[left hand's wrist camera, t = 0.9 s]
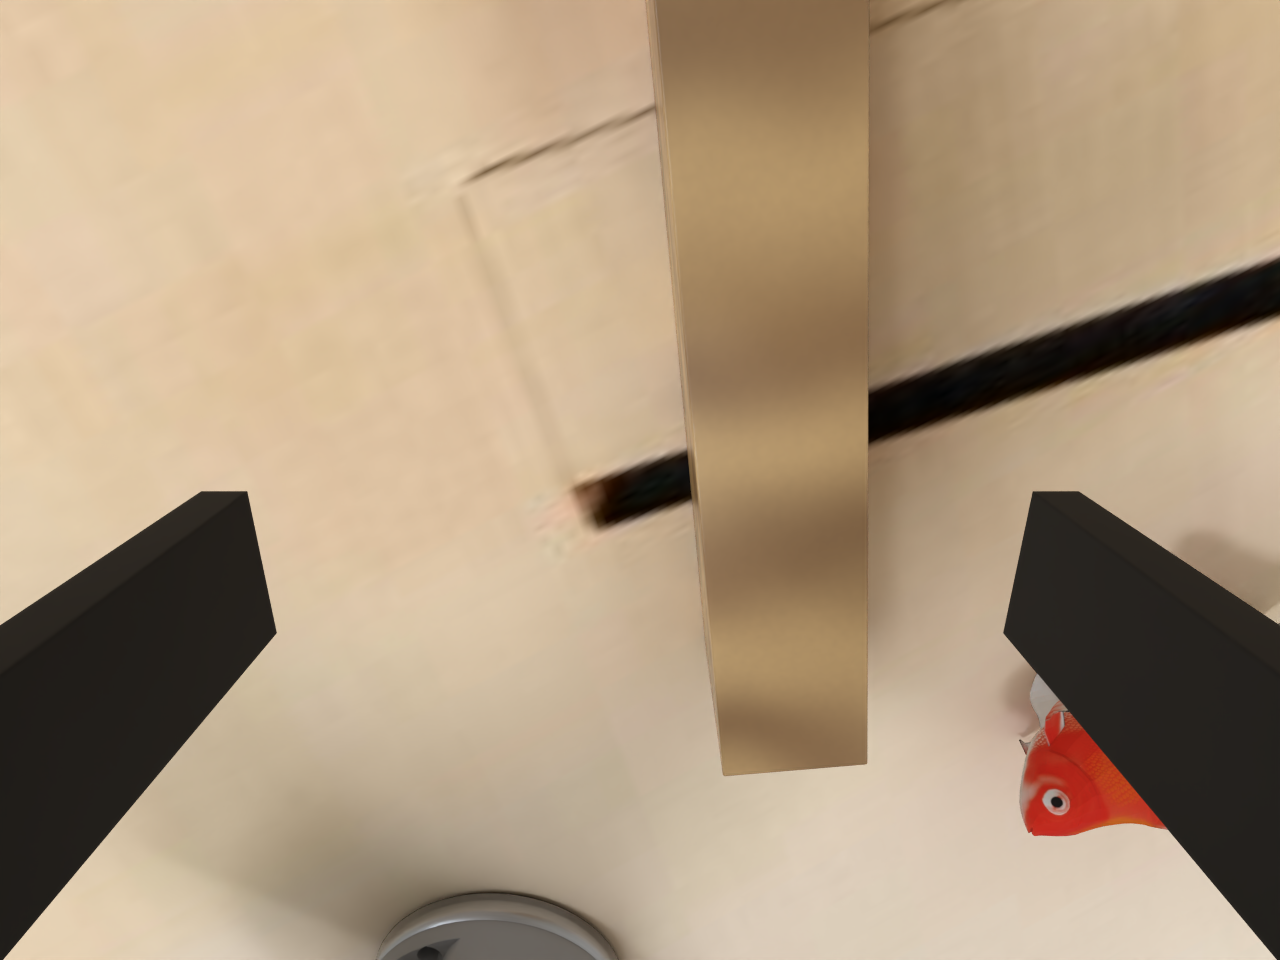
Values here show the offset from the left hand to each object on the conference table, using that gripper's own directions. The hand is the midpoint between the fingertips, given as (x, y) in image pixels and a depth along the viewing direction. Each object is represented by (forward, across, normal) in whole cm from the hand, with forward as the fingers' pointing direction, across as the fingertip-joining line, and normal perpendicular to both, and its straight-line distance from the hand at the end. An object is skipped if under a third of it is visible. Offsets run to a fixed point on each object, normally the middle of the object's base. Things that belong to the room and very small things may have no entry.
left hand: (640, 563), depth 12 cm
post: (+20, -3, -10) cm, 22 cm away
